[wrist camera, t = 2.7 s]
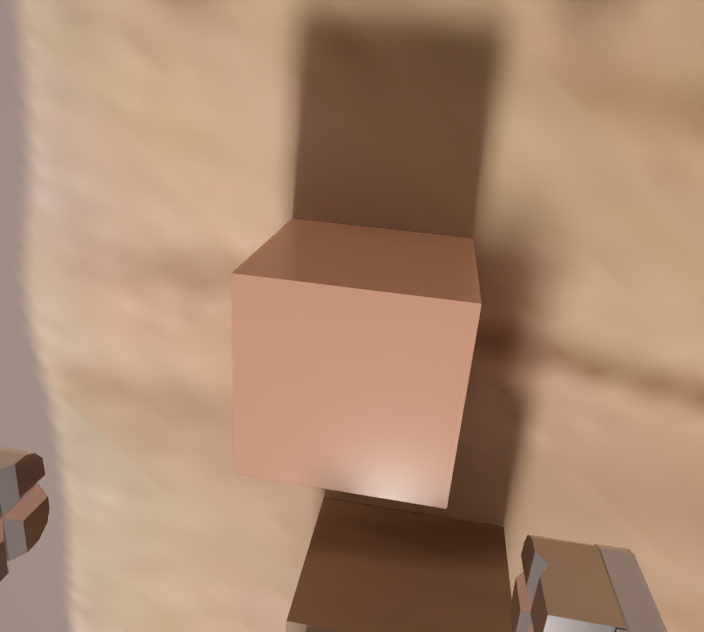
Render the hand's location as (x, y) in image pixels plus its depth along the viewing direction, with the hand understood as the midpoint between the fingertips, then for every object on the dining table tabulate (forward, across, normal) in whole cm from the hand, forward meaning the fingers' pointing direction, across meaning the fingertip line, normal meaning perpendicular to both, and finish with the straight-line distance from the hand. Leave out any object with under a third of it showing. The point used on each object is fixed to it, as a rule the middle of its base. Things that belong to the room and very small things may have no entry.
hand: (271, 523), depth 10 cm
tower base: (+9, -3, +9) cm, 13 cm away
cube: (+8, -1, -1) cm, 8 cm away
